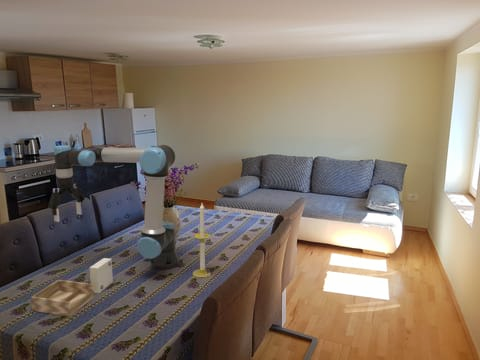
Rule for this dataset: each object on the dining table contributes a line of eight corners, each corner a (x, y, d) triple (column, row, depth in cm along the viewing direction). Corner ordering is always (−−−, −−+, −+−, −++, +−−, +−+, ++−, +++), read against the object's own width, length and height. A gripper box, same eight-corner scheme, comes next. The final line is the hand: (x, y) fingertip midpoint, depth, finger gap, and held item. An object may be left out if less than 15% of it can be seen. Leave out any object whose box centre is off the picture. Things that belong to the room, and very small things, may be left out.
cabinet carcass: (94, 296, 162) (93, 284, 160) (70, 316, 146) (68, 302, 145) (59, 291, 166) (58, 279, 164) (32, 310, 150) (30, 297, 149)
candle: (189, 276, 183) (187, 203, 175) (198, 268, 192) (197, 198, 185) (207, 279, 179) (206, 205, 172) (215, 271, 189) (215, 200, 181)
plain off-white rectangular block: (113, 282, 175) (112, 258, 173) (99, 293, 165) (98, 268, 163) (105, 281, 176) (104, 257, 174) (91, 292, 166) (89, 267, 163)
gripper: (79, 172, 195) (82, 210, 199) (36, 180, 173) (41, 223, 177) (89, 173, 192) (92, 212, 196) (47, 181, 170) (52, 225, 174)
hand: (68, 217), depth 186 cm, fingers open, 13 cm apart
